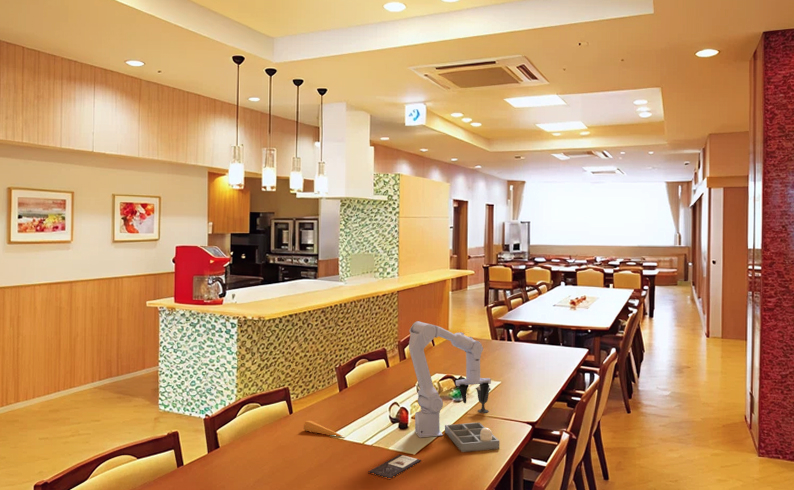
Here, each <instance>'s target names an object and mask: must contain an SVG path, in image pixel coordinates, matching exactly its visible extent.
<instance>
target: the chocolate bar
mask: <svg viewBox="0 0 794 490" xmlns="http://www.w3.org/2000/svg"><path fill="white" fill-rule="evenodd" d="M420 461H421V462H422V460H421V459H418V458H415V457H411V456H407V455H404V454H397V455H396V456H394V457H392V458H391V459H388V460H387V461H385V462H383V463H381V464H379V465H378V466H376V467H373V469H370V470H369V471H368V472H370V473H374V474H376V475H380V476H383V477H387V478H392V477H393V476H395V477H397V476H398V475H397V474H399V473H401V472H402V473H403V471H404V472H406V471H407V470H409V469H410V467H411V468H413V467H414V466H416V465H418V464H419V463H421V462H420ZM417 463H418V464H417ZM415 464H416V465H415ZM413 465H414V466H413ZM408 468H409V469H408ZM406 469H407V470H406ZM405 470H406V471H405ZM368 472H367V473H368ZM402 473H401V474H402ZM376 475H375V476H376ZM396 475H397V476H396ZM399 475H400V474H399ZM380 476H379V477H380ZM383 477H382V478H383ZM392 479H393V478H392Z"/></svg>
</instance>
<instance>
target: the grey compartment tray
mask: <svg viewBox="0 0 794 490" xmlns="http://www.w3.org/2000/svg"><path fill="white" fill-rule="evenodd" d="M483 428H486V426H484V425H483V424H482V423H481V422H479V421H478V422H469V423H468V422H467V423H456V424H455V423H454V424H444V433H445V434H446V436H448V439H450V441H451V442H453V444H454V445H455V446H456V448H457V449H458V450H459V451H460V452H461V453H467V452H469V453H470V452H478V451H489V450H490V451H491V450H500V439H498V438H497V437H496V436H495V435H494V434H493V433H492V440H491V441H480V432H481V430H482V429H483Z"/></svg>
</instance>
